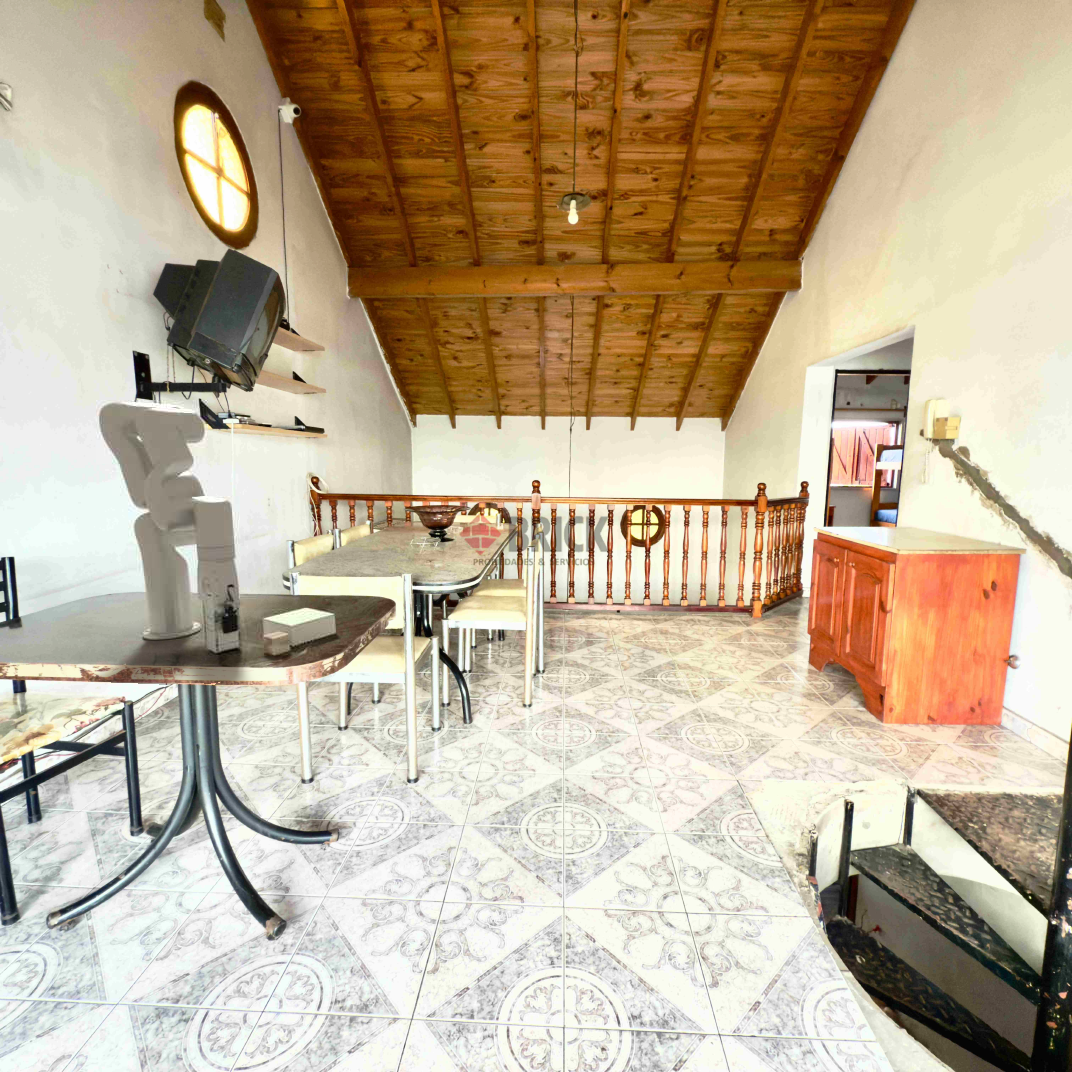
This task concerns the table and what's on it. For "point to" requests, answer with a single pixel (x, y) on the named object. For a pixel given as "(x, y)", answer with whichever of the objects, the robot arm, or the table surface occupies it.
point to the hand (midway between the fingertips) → (222, 628)
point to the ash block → (276, 643)
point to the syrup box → (218, 628)
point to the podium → (301, 625)
